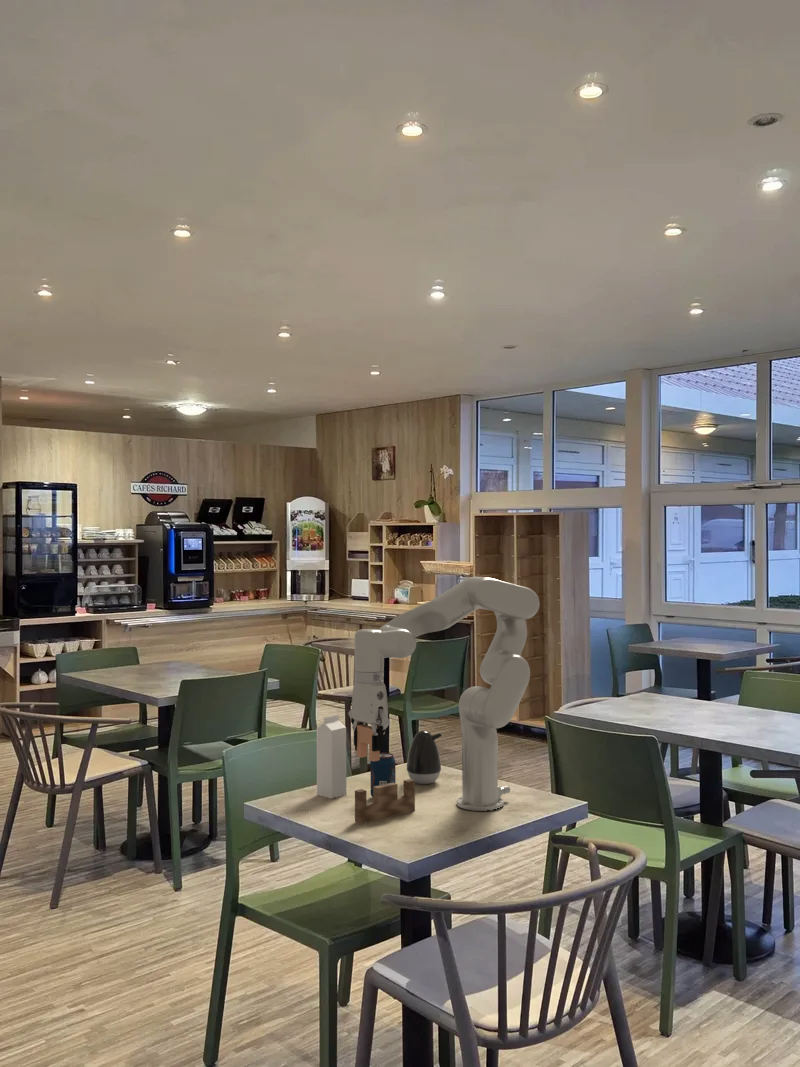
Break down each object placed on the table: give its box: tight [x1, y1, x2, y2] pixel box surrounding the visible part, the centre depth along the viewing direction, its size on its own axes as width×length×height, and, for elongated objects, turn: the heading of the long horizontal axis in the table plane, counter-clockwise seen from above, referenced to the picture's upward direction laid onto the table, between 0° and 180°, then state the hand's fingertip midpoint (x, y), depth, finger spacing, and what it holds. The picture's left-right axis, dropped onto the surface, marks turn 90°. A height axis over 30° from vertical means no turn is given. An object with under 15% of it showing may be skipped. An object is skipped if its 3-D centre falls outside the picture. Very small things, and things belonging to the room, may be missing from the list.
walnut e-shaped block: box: [354, 778, 416, 825], centre depth 235 cm, size 18×2×8 cm, turn 129°
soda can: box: [370, 752, 397, 799], centre depth 252 cm, size 7×7×12 cm
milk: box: [316, 714, 347, 799], centre depth 256 cm, size 6×6×22 cm
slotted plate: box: [356, 724, 381, 762], centre depth 232 cm, size 2×7×8 cm, turn 38°
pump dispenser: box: [406, 730, 443, 785], centre depth 269 cm, size 10×10×15 cm
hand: (368, 747), depth 232 cm, fingers closed on slotted plate, 7 cm apart
